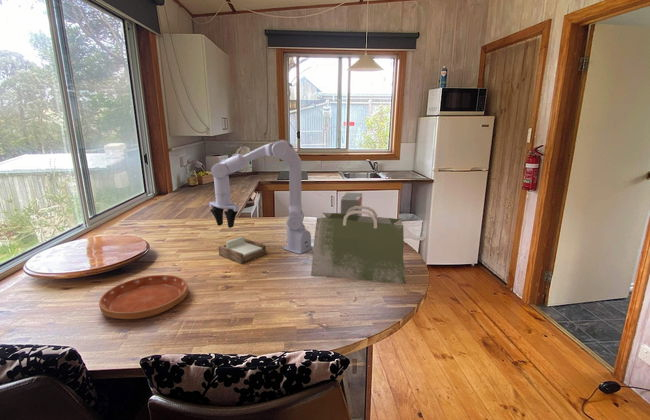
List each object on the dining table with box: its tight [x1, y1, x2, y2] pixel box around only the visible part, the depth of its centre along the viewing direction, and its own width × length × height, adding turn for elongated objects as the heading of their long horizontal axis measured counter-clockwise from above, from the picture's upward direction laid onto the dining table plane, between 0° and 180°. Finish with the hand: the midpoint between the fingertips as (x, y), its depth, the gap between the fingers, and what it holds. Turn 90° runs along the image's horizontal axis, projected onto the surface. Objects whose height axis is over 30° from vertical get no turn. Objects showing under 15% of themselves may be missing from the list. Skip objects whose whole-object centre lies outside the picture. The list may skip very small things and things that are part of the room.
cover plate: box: [225, 236, 262, 257], centre depth 133 cm, size 11×9×3 cm
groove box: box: [218, 237, 267, 265], centre depth 134 cm, size 14×12×4 cm
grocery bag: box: [310, 205, 407, 284], centre depth 116 cm, size 32×14×23 cm, turn 79°
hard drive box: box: [340, 192, 363, 216], centre depth 147 cm, size 16×8×20 cm, turn 168°
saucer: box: [98, 274, 189, 320], centre depth 100 cm, size 23×23×4 cm
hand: (225, 226), depth 138 cm, fingers open, 5 cm apart
